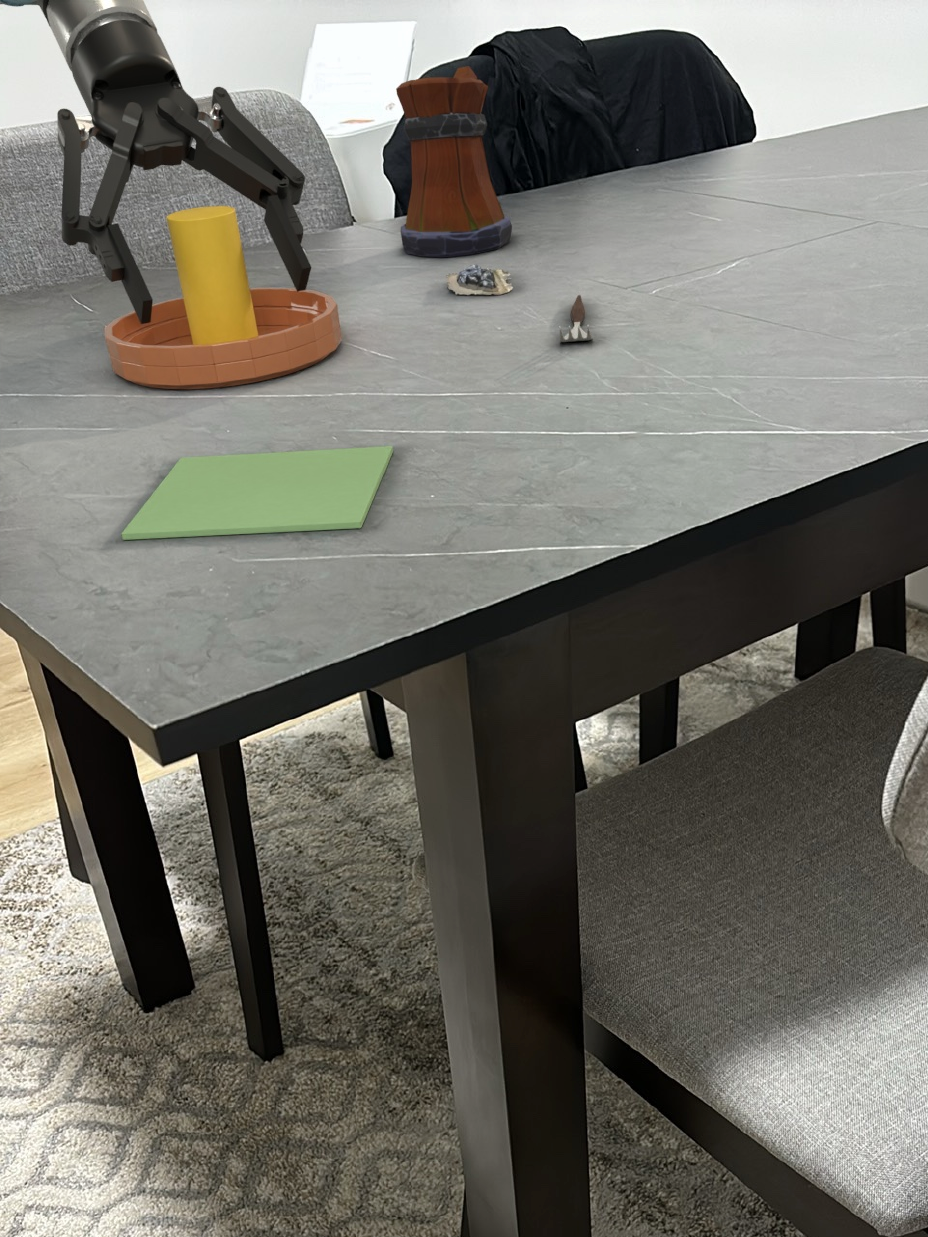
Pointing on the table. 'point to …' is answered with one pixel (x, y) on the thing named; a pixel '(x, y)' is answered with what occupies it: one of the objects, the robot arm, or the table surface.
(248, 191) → the robot arm
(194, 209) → the yellow cylinder
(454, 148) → the brown rook tower
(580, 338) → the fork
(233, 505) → the green board
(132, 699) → the table surface
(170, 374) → the pan
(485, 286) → the dark rock pile
